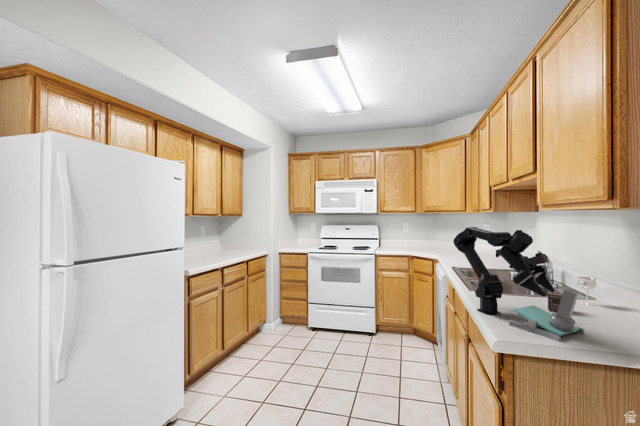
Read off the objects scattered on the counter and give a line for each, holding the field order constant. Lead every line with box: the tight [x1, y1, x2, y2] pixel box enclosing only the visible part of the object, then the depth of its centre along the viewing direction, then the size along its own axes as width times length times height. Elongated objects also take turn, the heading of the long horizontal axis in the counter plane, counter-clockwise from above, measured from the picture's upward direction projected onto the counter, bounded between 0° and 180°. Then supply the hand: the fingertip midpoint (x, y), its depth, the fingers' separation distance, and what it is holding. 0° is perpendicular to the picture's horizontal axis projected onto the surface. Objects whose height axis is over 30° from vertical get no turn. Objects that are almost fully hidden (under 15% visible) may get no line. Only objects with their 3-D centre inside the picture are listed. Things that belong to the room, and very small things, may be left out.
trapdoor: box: [512, 304, 580, 337], centre depth 113 cm, size 16×12×2 cm
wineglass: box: [577, 276, 598, 307], centre depth 144 cm, size 7×7×12 cm
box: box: [547, 290, 563, 312], centre depth 135 cm, size 6×6×7 cm
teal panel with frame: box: [508, 319, 585, 342], centre depth 113 cm, size 17×15×4 cm
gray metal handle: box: [549, 287, 580, 332], centre depth 107 cm, size 7×7×14 cm
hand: (549, 293), depth 111 cm, fingers open, 9 cm apart
